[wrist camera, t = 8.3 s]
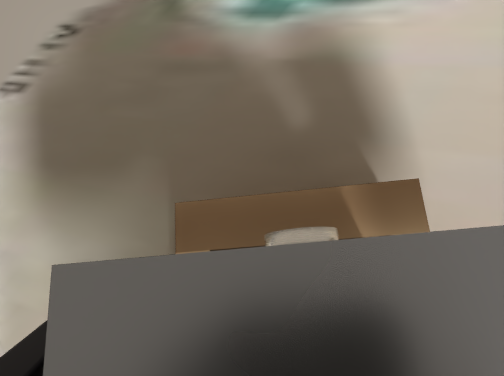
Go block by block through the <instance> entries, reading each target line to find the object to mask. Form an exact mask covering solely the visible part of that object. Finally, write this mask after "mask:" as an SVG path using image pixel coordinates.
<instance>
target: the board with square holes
mask: <svg viewBox="0 0 504 376" xmlns="http://www.w3.org/2000/svg"><path fill="white" fill-rule="evenodd" d="M304 227H335V228H337V230H338V237H339V240H344V239H355V238H366V237H378V236H389V235H400V234H412V233H423V232H430V230H429V225H428V221H427V216H426V211H425V206H424V202H423V197H422V192H421V187H420V183H419V178H418V179H408V180H398V181H388V182H378V183H368V184H358V185H348V186H339V187H329V188H319V189H309V190H299V191H289V192H279V193H269V194H259V195H249V196H239V197H229V198H219V199H209V200H200V201H190V202H180V203H175V239H176V254H184V253H196V252H207V251H218V250H230V249H241V248H253V247H264V246H265V238H264V235H265V234H267V233H271V232H275V231H280V230H286V229H294V228H304Z"/></svg>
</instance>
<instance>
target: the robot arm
mask: <svg viewBox="0 0 504 376" xmlns="http://www.w3.org/2000/svg"><path fill="white" fill-rule="evenodd" d="M46 332H47V321H46V322H44V323H43V324H42V325H41V326H39V327H38V328H37V329H35V330H34V331H33V332H32V333H30V334H29V335H28V336H27V337H25V338H24V339H23V340H22V341H20V342H19V343H18V344H17V345H15V346H14V347H13V348H12V349H10V350H9V351H8V352H6V353H5V354H4V355H3V356H1V357H0V376H43V369H44V357H45V344H46Z"/></svg>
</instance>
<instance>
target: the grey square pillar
mask: <svg viewBox="0 0 504 376" xmlns="http://www.w3.org/2000/svg"><path fill="white" fill-rule="evenodd" d="M264 238H265V246H264V247H253V248H241V249H230V250H218V251H207V252H196V253H184V254H173V255H162V256H150V257H139V258H127V259H116V260H105V261H93V262H82V263H71V264H59V265H52V272H51V284H50V296H49V308H48V320H47V332H46V344H45V357H44V369H43V376H504V225H503V226H491V227H480V228H469V229H457V230H446V231H434V232H423V233H412V234H400V235H389V236H378V237H366V238H355V239H344V240H339V237H338V230H337V228H335V227H304V228H294V229H286V230H280V231H275V232H271V233H267V234H265V235H264Z"/></svg>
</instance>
